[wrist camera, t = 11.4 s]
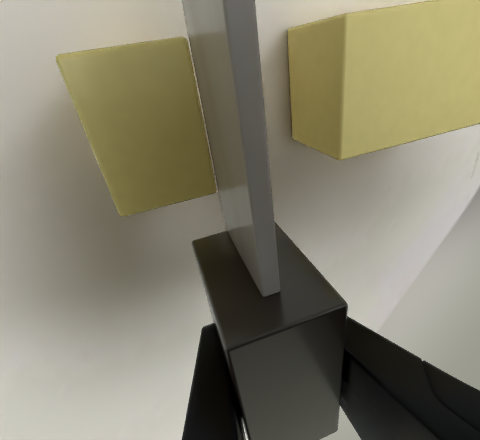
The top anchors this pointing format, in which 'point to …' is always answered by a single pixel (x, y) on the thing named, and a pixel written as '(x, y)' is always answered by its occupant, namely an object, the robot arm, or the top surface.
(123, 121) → the butter pat
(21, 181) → the top surface
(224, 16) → the knife
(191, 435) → the robot arm
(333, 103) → the butter stick
